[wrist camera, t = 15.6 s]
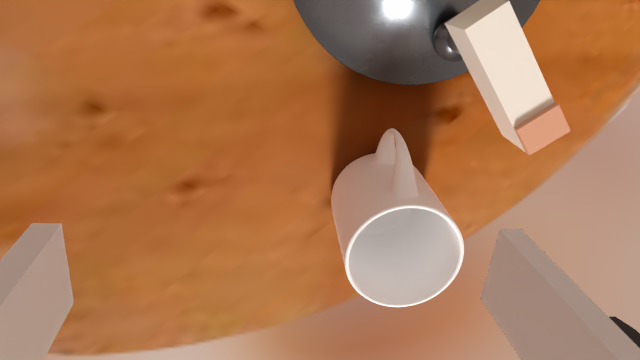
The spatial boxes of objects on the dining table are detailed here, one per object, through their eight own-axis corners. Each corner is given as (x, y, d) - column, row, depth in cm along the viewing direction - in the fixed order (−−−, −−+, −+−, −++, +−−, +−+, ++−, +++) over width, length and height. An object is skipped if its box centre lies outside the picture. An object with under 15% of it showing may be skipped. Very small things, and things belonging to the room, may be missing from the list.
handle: (422, 16, 34) (468, 31, 26) (456, -7, 34) (513, 1, 26) (475, 115, 38) (529, 155, 30) (506, 95, 37) (570, 130, 29)
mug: (433, 112, 41) (482, 157, 31) (417, 234, 46) (455, 306, 36) (333, 111, 40) (351, 157, 30) (327, 235, 45) (341, 309, 35)
